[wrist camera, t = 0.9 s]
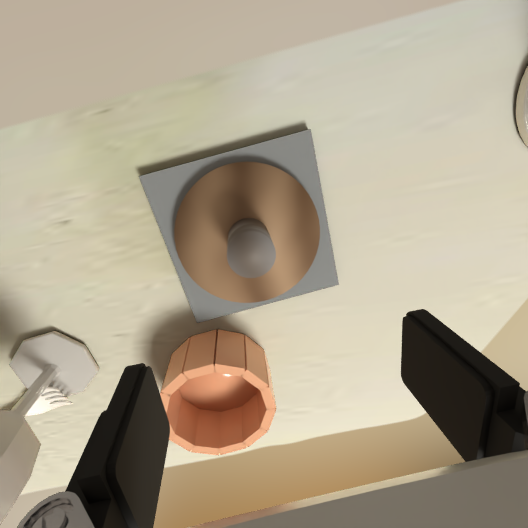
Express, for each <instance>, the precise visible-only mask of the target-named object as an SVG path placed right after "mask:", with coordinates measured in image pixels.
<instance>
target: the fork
mask: <svg viewBox="0 0 528 528" xmlns="http://www.w3.org/2000/svg"><path fill="white" fill-rule="evenodd" d="M50 391H60V390H59V389H57V388H54V387H47V388H46V390H45V391H44V392H43V393H47V392H50ZM43 393H42V394H43ZM55 395H64V394H63V393H60V392H50V393H48V394H46V395H41V396H40V397H39V399H38V400H37V401H36V402H35V404H34V405H33V406H32V408H31V409H30V410H29V411H28V413H27V414H26V415H25V416H28V415H36V414H41V413H44V412H47V411H49V410H51V409H54V408H56V407H59V406H63V405H68V404H73V403H72V402H70V401H66V400H68V398H67V397H64V396H55ZM51 396H55V397H52V398H48V397H51ZM61 399H66V400H61ZM56 400H61V401H56ZM53 401H54V402H53Z"/></svg>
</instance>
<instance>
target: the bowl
mask: <svg viewBox="0 0 528 528" xmlns="http://www.w3.org/2000/svg"><path fill="white" fill-rule="evenodd" d="M160 396H161V399H162V402H163V405H164V408H165V411H166V414H167V417H168V420H169V424H170V436H169V440H171V441H173V442H174V443H176V444H178V445H179V446H181V447H183V448H185V449H186V450H188V451H191V450H192V451H191V452H195V453H204V454H213V455H219V453H220V455H222V454H226V453H230V452H233V451H237V450H241V449H244V448H246V446H247V447H249V446H250V445H251V444H253V443H254V442H255V441H256V440H258V439H259V438H260V437H261V436H263V435H264V434H265V433H266V432H267V430H269V427H270V425H271V422H272V419H273V417H274V414H275V411H276V404H275V397H274V391H273V385H272V379H271V372H270V368H269V365H268V361H267V358H266V355H265V352H264V350H263V349H262V348H261V347H260V346H259V345H257V344H256V343H255V342H254V341H252V340H251V339H250V338H249V337H247V336H246V335H244V334H241V333H235V332H230V331H225V330H219V329H218V332H217V330H212V331H209V332H205V333H201V334H198V335H194V336H191V338H190V337H189V338H188V339H187V340H186V341H185V342H184V343H183V344H182V345H181V346H180V347H179V348H178V349H176V350H175V351H174V352H173V353H172V355H171V359H170V362H169V365H168V369H167V372H166V376H165V379H164V382H163V386H162V389H161V393H160Z"/></svg>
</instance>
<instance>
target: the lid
mask: <svg viewBox="0 0 528 528" xmlns="http://www.w3.org/2000/svg"><path fill="white" fill-rule="evenodd" d="M174 239H175V245H176V250H177V253H178V257H179V259H180V261H181V263H182V266H183V267H184V269H185V270H186V272H187V273H188V275H189V276H190V277H191V278H192V279H193V281H194V282H196V283H197V284H198V285H199V286H200V287H201V288H203V289H204V290H205V291H207V292H209V293H210V294H212V295H214V296H216V297H219V298H221V299H224V300H228V301H232V302H239V303H254V302H261V301H266V300H269V299H272V298H275V297H277V296H279V295H281V294H283V293H285V292H286V291H288V290H290V289H291V288H292V287H293V286H295V285H296V284H297V283H298V282H299V281H300V280H301V279H302V278H303V277H304V275H305V274H306V273H307V271H308V270H309V268H310V267H311V265H312V263H313V261H314V259H315V256H316V254H317V250H318V246H319V240H320V224H319V218H318V214H317V210H316V208H315V205H314V203H313V201H312V199H311V197H310V196H309V194H308V193H307V191H306V190H305V189H304V188H303V186H302V185H301V184H300V183H299V182H298V181H297V180H296V179H294V178H293V177H292V176H290V175H289V174H287V173H286V172H284V171H282V170H280V169H278V168H276V167H273V166H271V165H268V164H264V163H259V162H248V161H247V162H236V163H231V164H227V165H224V166H221V167H218V168H216V169H214V170H212V171H210V172H209V173H207V174H206V175H204V176H203V177H202V178H201V179H199V180H198V181H197V182H196V183H195V184H194V185H193V186H192V188H191V189H190V190H189V191H188V193H187V194H186V195H185V197H184V199H183V201H182V202H181V205H180V207H179V209H178V212H177V216H176V220H175V228H174Z"/></svg>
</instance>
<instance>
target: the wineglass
mask: <svg viewBox="0 0 528 528" xmlns="http://www.w3.org/2000/svg"><path fill="white" fill-rule="evenodd" d="M9 365H10V367H11V368H12V370H13V371H14V372H15V374H16V375H17V376H18V378H19V379H20V380H21V382H22V383H23V384H24V386H25V387H26V388H28V390H27V391H26V392H25V394H24V395H23V396H22V397H21V398H20V400H19V401H18V402H17V403H16V404H15V406H14V407H13V408H12V409H11V410H0V525H1V523H2V522H3V520H4V519H5V517H6V516H7V515H8V513H9V511H10V509H11V508H12V506H13V505H14V503H15V501H16V500H17V498H18V496H19V495H20V493H21V492H22V490H23V488H24V487H25V485H26V483H27V482H28V480H29V478H30V476H31V473H32V470H33V467H34V464H35V461H36V458H37V455H38V452H39V449H40V446H41V444H40V442H39V440H38V439H37V437H36V436H35V434H34V432H33V431H32V429H31V428H30V426H29V425H28V423H27V421H26V420H25V418H24V417H25V415H26V414H27V413H28V411H29V410H30V409H31V408H32V406H33V405H34V404H35V402H36V401H37V400H38V399H39V397H40V396H41V395H46V394H48V393H50V392H60V393H63V394H64V395H55V396H64V397H67V396H71V395H74V394H78V393H81V392H84V391H85V389H86V388H87V387H88V385H89V384H90V382H91V381H92V379H93V378H94V377H95V375H96V374H97V372H98V371H99V367H98V366H97V364H96V362H95V361H94V359H93V357H92V356H91V354H90V352H89V351H88V349H87V347H86V346H85V345H84V344H82V343H80V342H78V341H76V340H74V339H72V338H70V337H67V336H65V335H63V334H61V333H59V332H57V331H52V332H49V333H45V334H42V335H38V336H35V337H32V338H28V339H25V340H23V341H22V343H21V345H20V346H19V348H18V350H17V352H16V353H15V355H14V357H13V358H12V360H11V362H10V363H9ZM47 387H54V388H57V389H59V390H60V391H50V392H47V393H43V392H44V391H45V390H46V388H47ZM42 393H43V394H42ZM55 396H51V397H50V398H52V397H55Z"/></svg>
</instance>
